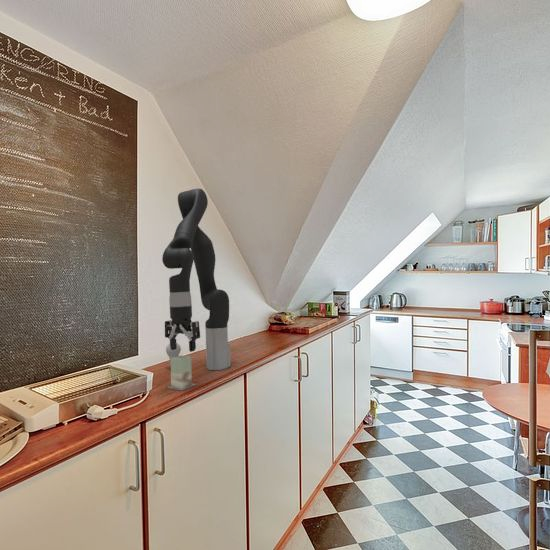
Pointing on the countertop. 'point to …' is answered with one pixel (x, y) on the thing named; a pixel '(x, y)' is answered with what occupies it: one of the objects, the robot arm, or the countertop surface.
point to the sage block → (181, 364)
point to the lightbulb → (173, 351)
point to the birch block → (181, 380)
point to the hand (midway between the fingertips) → (183, 350)
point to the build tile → (182, 388)
